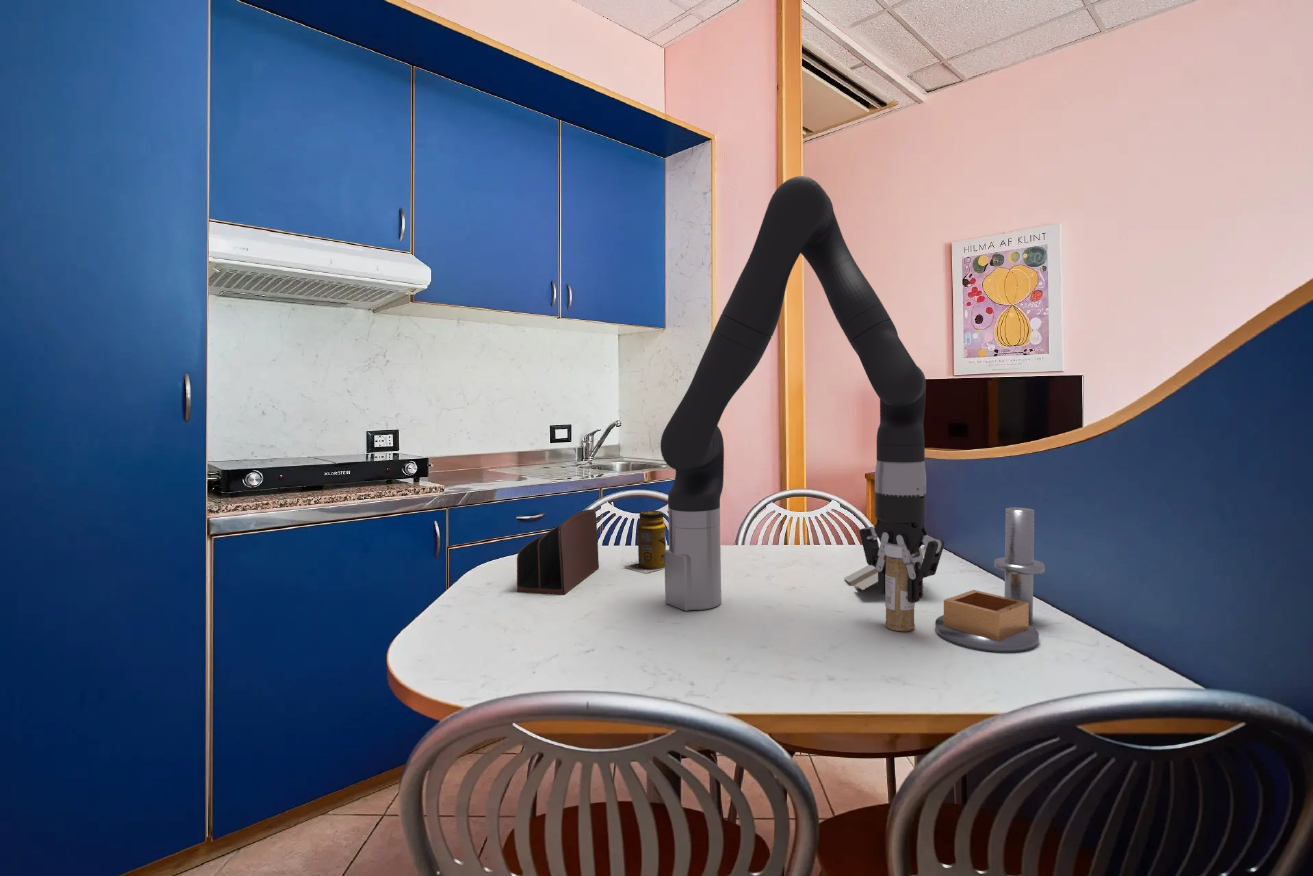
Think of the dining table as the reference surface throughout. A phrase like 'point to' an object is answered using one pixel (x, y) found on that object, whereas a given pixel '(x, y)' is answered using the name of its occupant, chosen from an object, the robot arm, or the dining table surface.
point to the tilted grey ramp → (866, 576)
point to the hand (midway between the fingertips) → (899, 597)
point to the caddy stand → (999, 598)
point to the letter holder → (560, 557)
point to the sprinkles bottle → (897, 591)
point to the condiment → (650, 542)
